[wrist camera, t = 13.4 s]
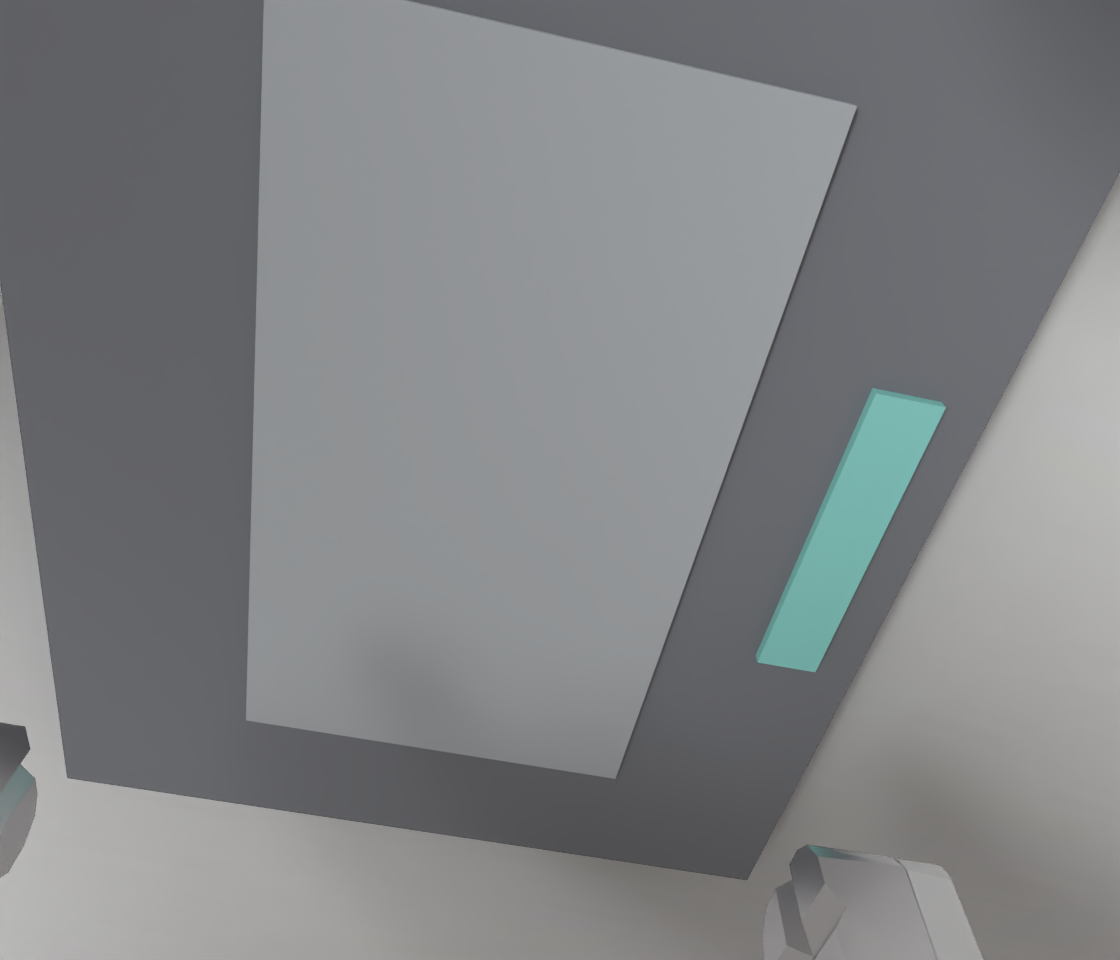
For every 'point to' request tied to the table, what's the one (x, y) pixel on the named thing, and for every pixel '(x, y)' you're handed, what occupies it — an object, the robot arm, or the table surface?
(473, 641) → the charging mat
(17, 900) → the table surface
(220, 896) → the table surface
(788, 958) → the robot arm
